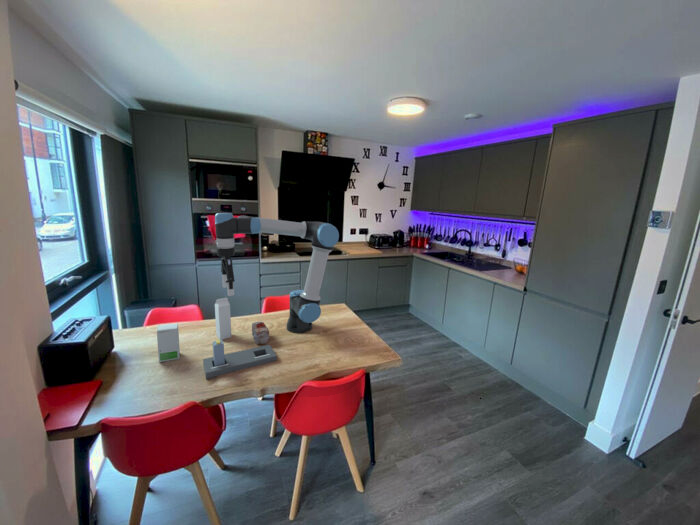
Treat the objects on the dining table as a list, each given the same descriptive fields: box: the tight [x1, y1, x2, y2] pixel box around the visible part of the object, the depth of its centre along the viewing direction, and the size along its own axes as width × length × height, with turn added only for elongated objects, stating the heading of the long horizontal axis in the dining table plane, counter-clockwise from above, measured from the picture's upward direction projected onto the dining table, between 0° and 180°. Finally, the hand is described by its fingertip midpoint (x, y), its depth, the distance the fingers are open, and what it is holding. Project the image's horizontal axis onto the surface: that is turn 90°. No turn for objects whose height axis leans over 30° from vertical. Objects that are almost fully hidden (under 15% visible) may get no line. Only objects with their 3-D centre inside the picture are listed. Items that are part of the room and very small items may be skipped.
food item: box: [251, 321, 271, 346], centre depth 153 cm, size 14×8×10 cm, turn 32°
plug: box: [212, 338, 225, 367], centre depth 126 cm, size 4×4×13 cm
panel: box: [202, 344, 278, 380], centre depth 132 cm, size 30×12×3 cm, turn 121°
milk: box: [214, 297, 232, 341], centre depth 154 cm, size 6×6×22 cm
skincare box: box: [156, 322, 181, 363], centre depth 133 cm, size 8×7×16 cm
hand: (228, 291), depth 136 cm, fingers open, 13 cm apart
